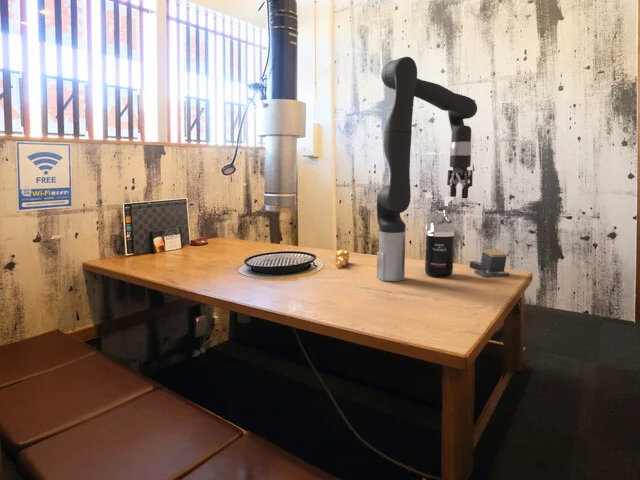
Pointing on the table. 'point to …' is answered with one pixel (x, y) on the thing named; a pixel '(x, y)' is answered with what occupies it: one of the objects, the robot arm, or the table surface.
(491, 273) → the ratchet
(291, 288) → the table surface
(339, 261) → the figurine
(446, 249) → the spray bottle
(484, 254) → the khaki matte cube
